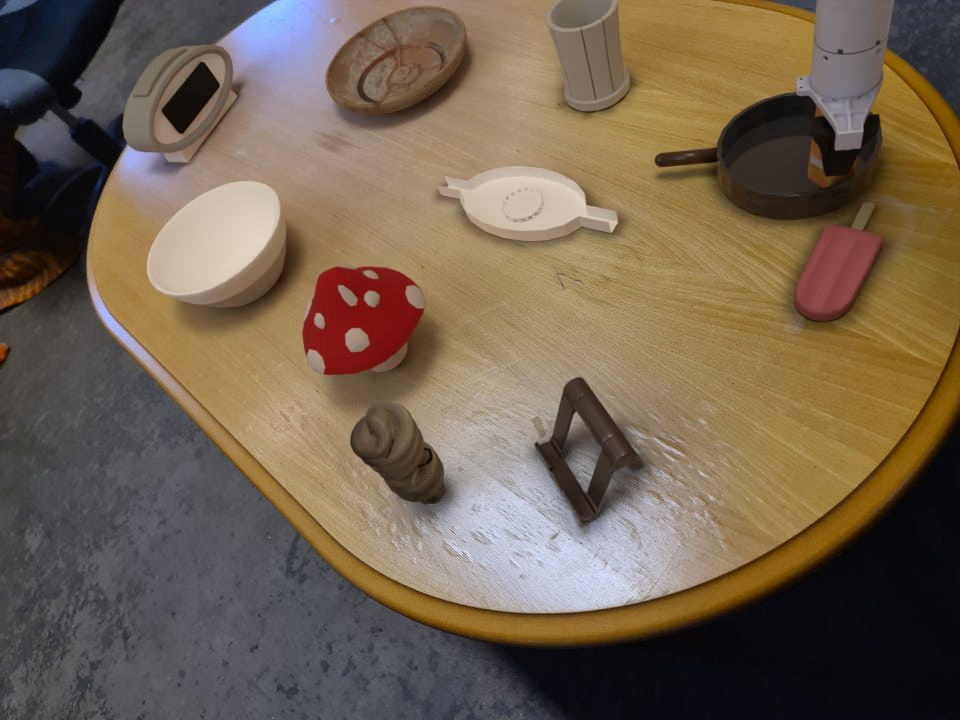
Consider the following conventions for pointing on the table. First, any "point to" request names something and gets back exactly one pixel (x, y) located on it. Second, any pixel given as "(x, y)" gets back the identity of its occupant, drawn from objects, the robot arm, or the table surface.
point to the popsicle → (837, 268)
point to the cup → (589, 52)
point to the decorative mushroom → (360, 319)
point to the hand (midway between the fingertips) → (835, 156)
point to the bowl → (221, 247)
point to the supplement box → (817, 168)
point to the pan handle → (687, 157)
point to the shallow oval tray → (527, 204)
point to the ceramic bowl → (397, 60)
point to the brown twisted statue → (399, 453)
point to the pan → (784, 161)
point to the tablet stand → (606, 434)
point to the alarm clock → (179, 101)
